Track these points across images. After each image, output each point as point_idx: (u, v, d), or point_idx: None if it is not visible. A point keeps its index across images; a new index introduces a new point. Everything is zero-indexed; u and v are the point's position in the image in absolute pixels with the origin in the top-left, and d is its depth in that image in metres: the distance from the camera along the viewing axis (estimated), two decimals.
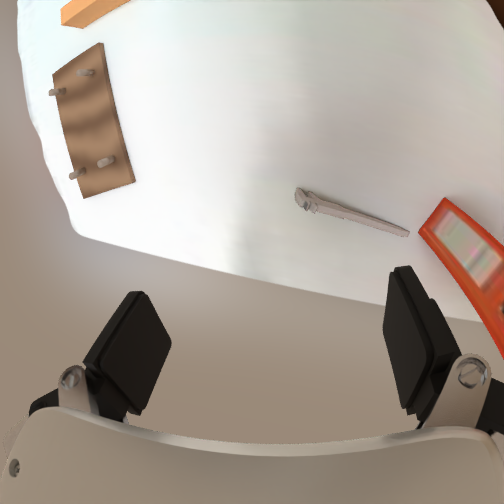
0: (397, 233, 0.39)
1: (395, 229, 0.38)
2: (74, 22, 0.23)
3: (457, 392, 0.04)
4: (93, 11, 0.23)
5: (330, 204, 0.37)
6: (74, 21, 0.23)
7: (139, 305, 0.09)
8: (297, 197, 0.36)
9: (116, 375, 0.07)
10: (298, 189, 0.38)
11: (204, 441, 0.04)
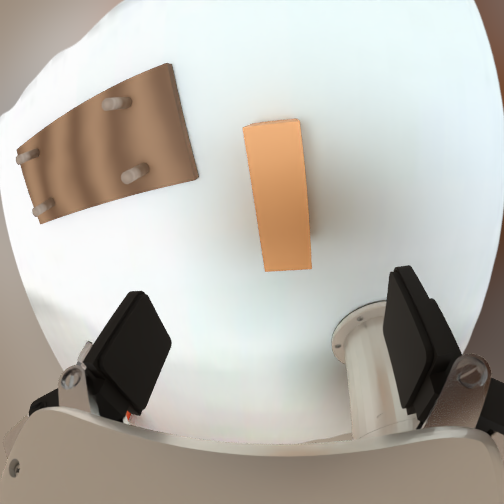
0: None
1: None
2: None
3: (457, 392, 0.04)
4: None
5: None
6: None
7: (139, 305, 0.09)
8: (82, 354, 0.42)
9: (116, 375, 0.07)
10: (90, 346, 0.44)
11: (204, 441, 0.04)
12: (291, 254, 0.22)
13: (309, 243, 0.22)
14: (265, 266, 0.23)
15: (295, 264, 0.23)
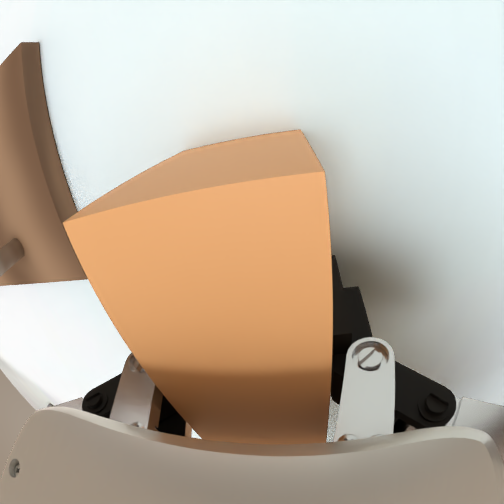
0: None
1: None
2: None
3: (360, 378, 0.05)
4: None
5: None
6: None
7: None
8: None
9: None
10: None
11: (204, 441, 0.04)
12: None
13: None
14: None
15: None
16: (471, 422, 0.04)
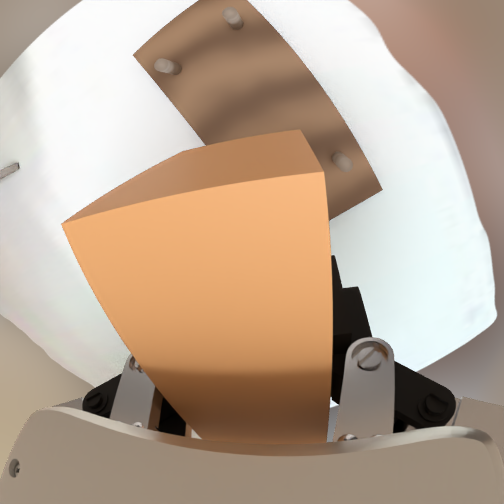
0: None
1: None
2: None
3: (360, 378, 0.05)
4: None
5: None
6: None
7: None
8: (3, 172, 0.25)
9: None
10: (15, 170, 0.28)
11: (204, 441, 0.04)
12: None
13: None
14: None
15: None
16: (471, 422, 0.04)
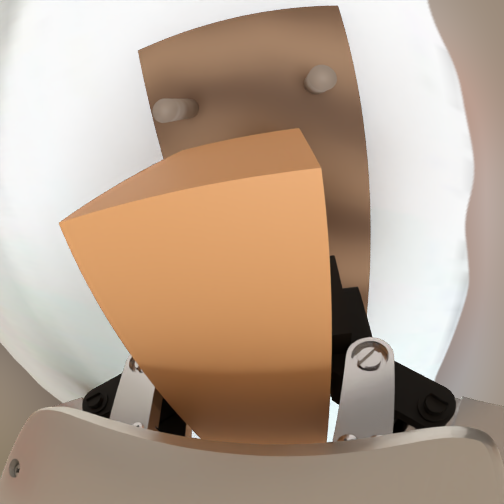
0: None
1: None
2: None
3: (360, 378, 0.05)
4: None
5: None
6: None
7: None
8: None
9: None
10: None
11: (204, 441, 0.04)
12: None
13: None
14: None
15: None
16: (471, 422, 0.04)
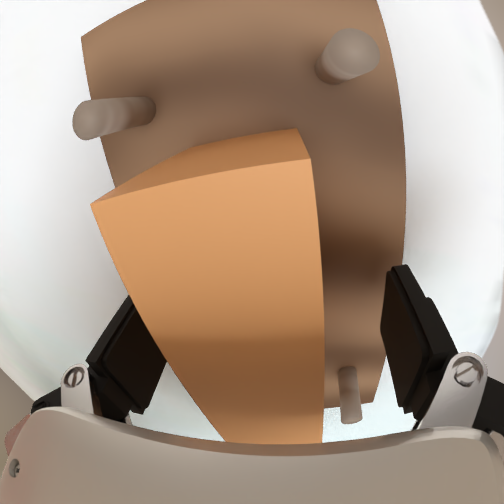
0: None
1: None
2: None
3: (453, 391, 0.04)
4: None
5: None
6: None
7: None
8: None
9: (119, 373, 0.07)
10: None
11: (204, 441, 0.04)
12: None
13: (320, 436, 0.08)
14: None
15: None
16: None
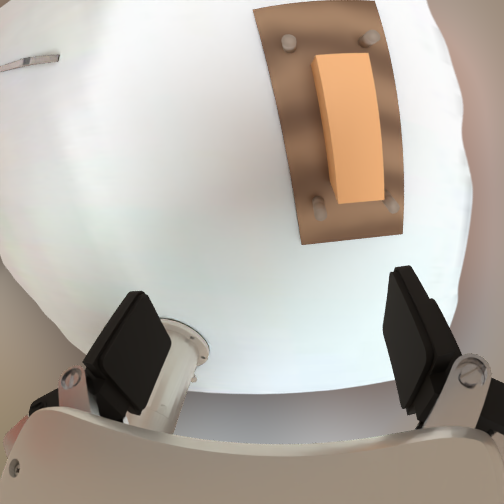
0: None
1: None
2: (316, 72, 0.18)
3: (457, 392, 0.04)
4: (324, 117, 0.20)
5: (26, 65, 0.19)
6: (318, 76, 0.17)
7: (139, 305, 0.09)
8: (41, 60, 0.19)
9: (116, 375, 0.07)
10: (53, 61, 0.21)
11: (204, 441, 0.04)
12: (365, 183, 0.20)
13: (382, 171, 0.19)
14: (339, 198, 0.21)
15: (369, 195, 0.20)
16: None
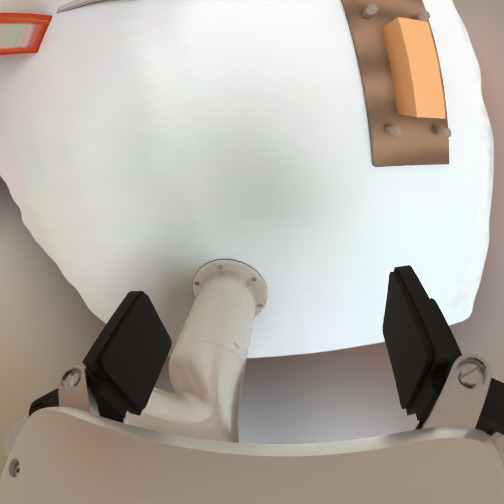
0: (63, 6, 0.20)
1: (64, 7, 0.21)
2: (393, 30, 0.19)
3: (457, 392, 0.04)
4: (399, 60, 0.21)
5: None
6: (396, 32, 0.19)
7: (139, 305, 0.09)
8: None
9: (116, 375, 0.07)
10: None
11: (204, 441, 0.04)
12: (433, 104, 0.21)
13: (442, 98, 0.20)
14: (417, 112, 0.22)
15: (435, 113, 0.21)
16: None
